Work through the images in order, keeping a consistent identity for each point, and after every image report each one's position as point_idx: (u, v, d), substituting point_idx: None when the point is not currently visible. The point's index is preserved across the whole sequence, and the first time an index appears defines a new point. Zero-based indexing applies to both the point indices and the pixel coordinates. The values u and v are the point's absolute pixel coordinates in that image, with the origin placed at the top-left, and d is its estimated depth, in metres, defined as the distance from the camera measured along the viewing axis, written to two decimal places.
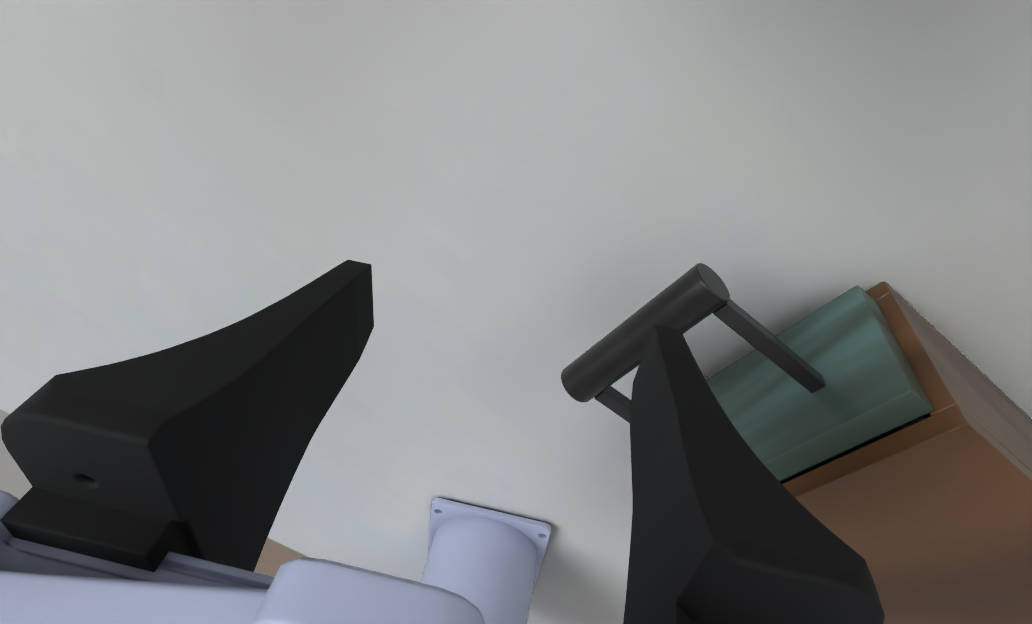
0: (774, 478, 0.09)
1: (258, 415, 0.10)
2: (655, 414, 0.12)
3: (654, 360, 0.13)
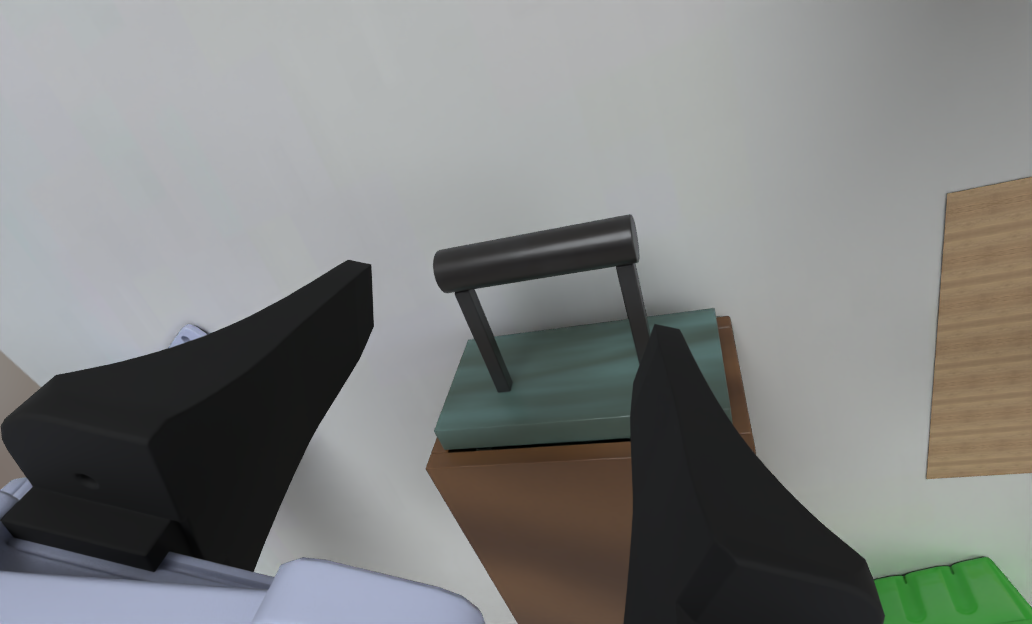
0: (774, 478, 0.09)
1: (258, 415, 0.10)
2: (655, 414, 0.12)
3: (654, 360, 0.13)
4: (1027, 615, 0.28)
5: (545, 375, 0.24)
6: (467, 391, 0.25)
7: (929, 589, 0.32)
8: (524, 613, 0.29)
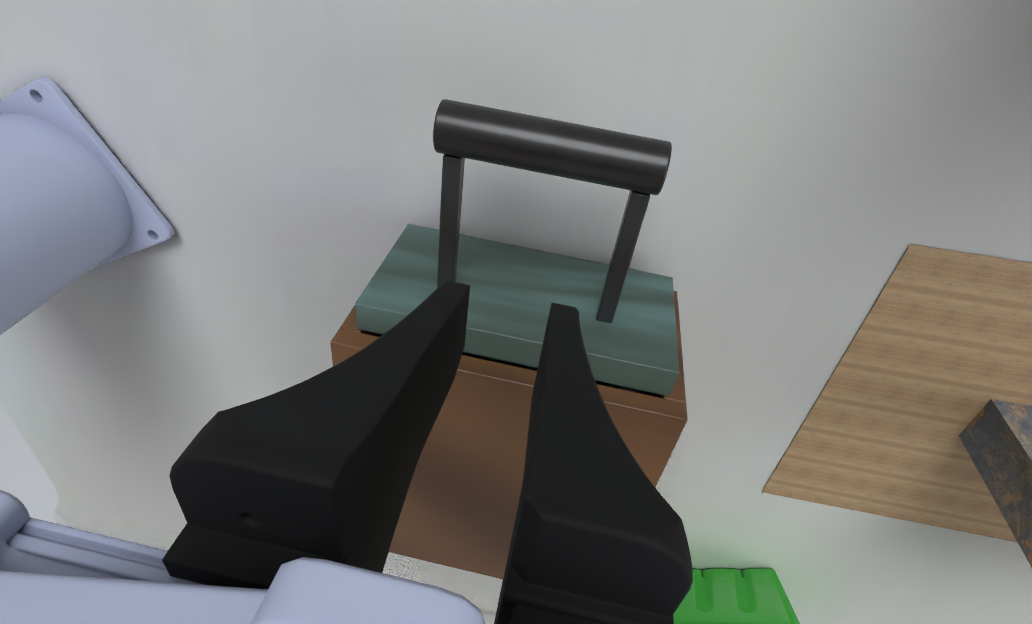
0: (622, 444, 0.09)
1: (392, 446, 0.10)
2: (539, 388, 0.12)
3: (544, 337, 0.13)
4: (793, 622, 0.33)
5: (492, 285, 0.22)
6: (401, 274, 0.22)
7: (720, 585, 0.36)
8: None
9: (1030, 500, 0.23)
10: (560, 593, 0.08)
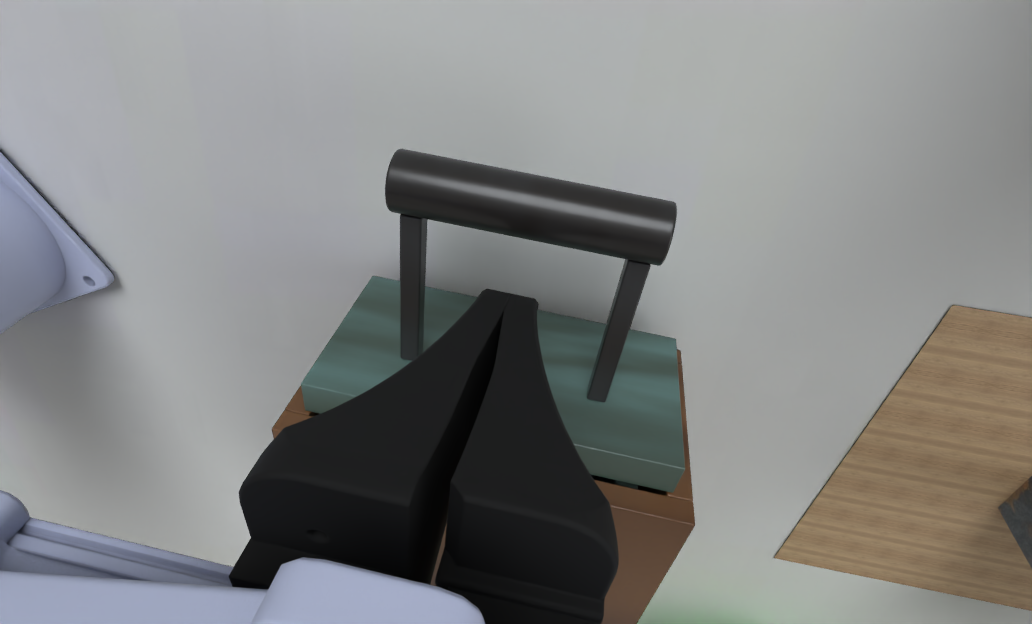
0: (562, 431, 0.09)
1: (447, 459, 0.10)
2: None
3: (501, 327, 0.13)
4: None
5: None
6: (359, 343, 0.18)
7: None
8: None
9: None
10: (492, 577, 0.08)
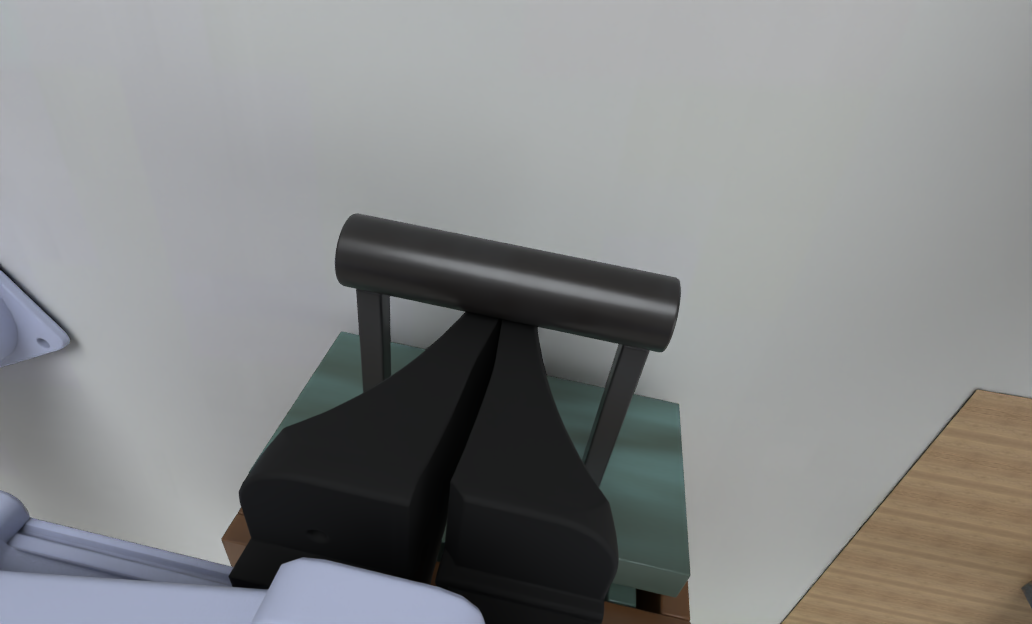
0: (562, 431, 0.09)
1: (448, 458, 0.10)
2: None
3: (501, 327, 0.13)
4: None
5: None
6: None
7: None
8: None
9: None
10: (492, 577, 0.08)
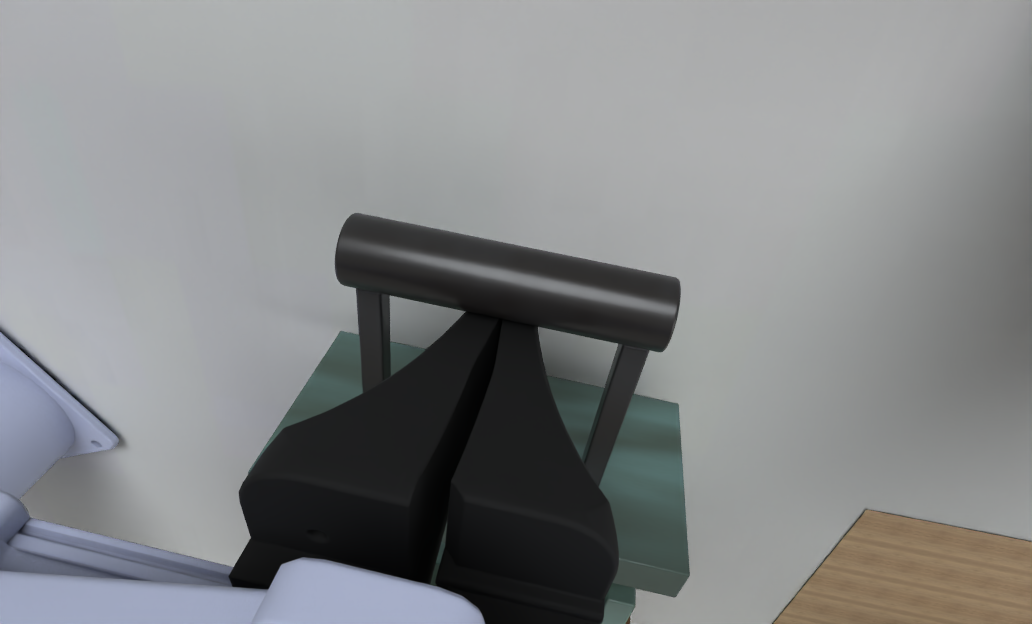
0: (562, 431, 0.09)
1: (447, 458, 0.10)
2: None
3: (501, 327, 0.13)
4: None
5: None
6: None
7: None
8: None
9: None
10: (492, 577, 0.08)
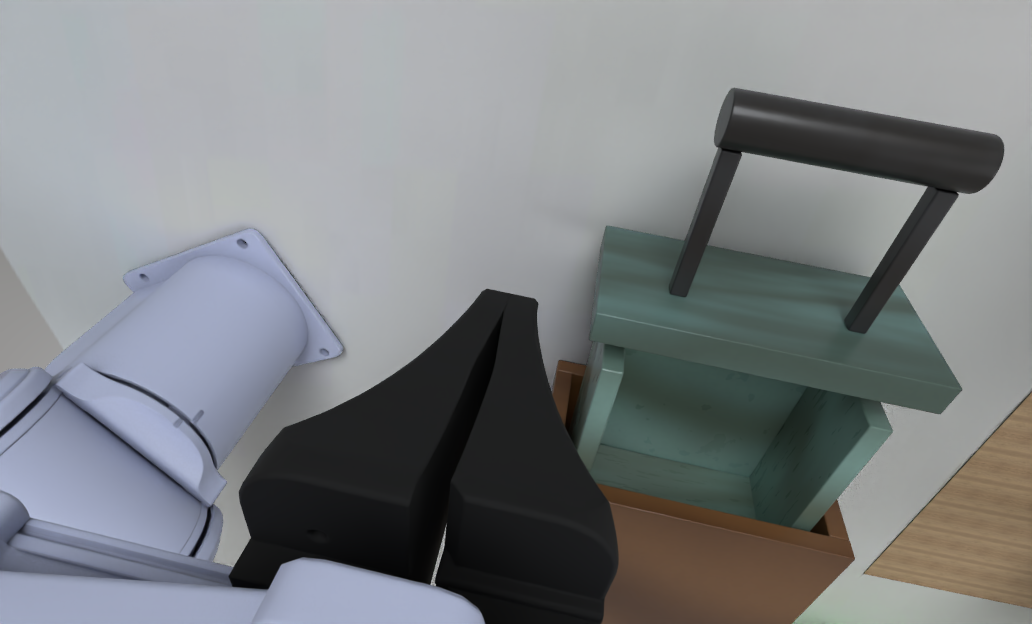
0: (562, 431, 0.09)
1: (448, 458, 0.10)
2: None
3: (501, 327, 0.13)
4: None
5: (724, 292, 0.20)
6: (627, 281, 0.20)
7: None
8: None
9: None
10: (492, 577, 0.08)
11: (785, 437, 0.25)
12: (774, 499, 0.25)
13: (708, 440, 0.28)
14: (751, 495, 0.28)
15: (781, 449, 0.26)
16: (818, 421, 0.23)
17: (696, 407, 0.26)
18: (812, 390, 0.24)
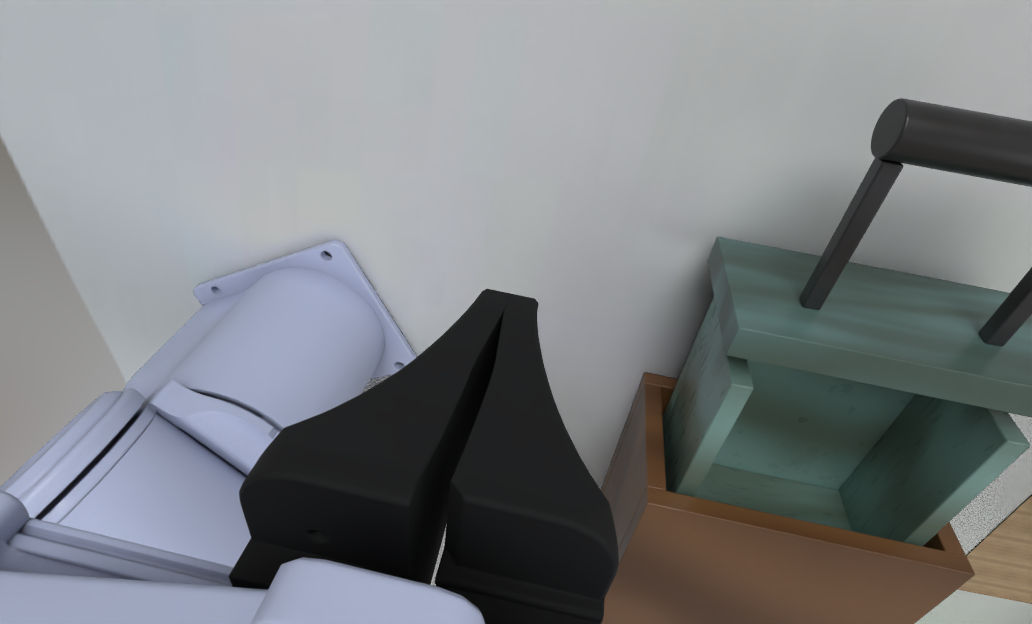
0: (562, 431, 0.09)
1: (448, 458, 0.10)
2: None
3: (501, 327, 0.13)
4: None
5: (854, 305, 0.20)
6: (757, 294, 0.19)
7: None
8: None
9: None
10: (492, 577, 0.08)
11: (886, 450, 0.25)
12: (876, 513, 0.25)
13: (800, 453, 0.27)
14: (843, 508, 0.27)
15: (881, 462, 0.25)
16: (932, 434, 0.23)
17: (792, 420, 0.26)
18: (920, 402, 0.24)
